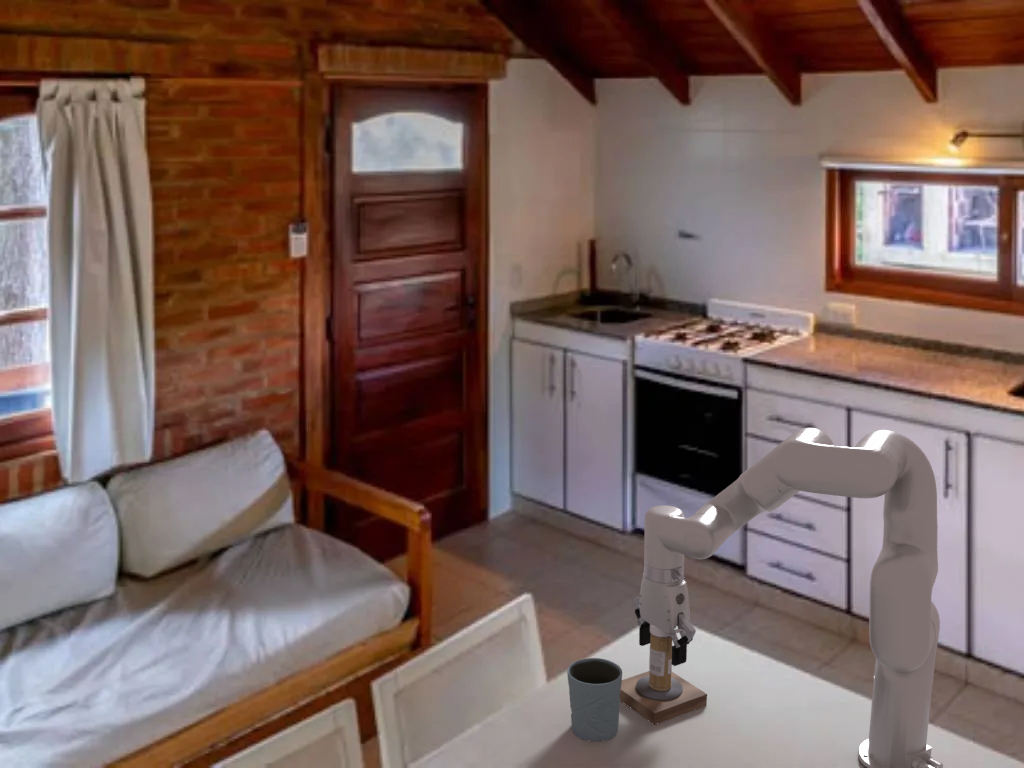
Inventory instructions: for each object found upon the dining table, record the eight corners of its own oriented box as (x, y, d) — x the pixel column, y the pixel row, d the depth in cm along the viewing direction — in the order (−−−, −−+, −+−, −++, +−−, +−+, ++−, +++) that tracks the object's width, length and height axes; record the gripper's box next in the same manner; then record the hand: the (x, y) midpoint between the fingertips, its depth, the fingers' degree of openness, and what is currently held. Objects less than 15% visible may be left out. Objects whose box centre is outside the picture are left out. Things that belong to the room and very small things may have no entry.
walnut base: (706, 705, 210) (707, 691, 210) (654, 725, 204) (654, 710, 203) (663, 677, 221) (663, 663, 220) (612, 694, 214) (612, 681, 214)
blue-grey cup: (617, 746, 197) (619, 686, 194) (562, 740, 199) (563, 681, 196) (623, 717, 206) (625, 660, 203) (570, 711, 208) (571, 654, 205)
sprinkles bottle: (676, 687, 211) (678, 624, 208) (658, 694, 209) (660, 630, 205) (660, 678, 215) (663, 615, 212) (643, 684, 212) (645, 621, 209)
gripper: (709, 581, 201) (707, 666, 205) (650, 552, 215) (649, 631, 219) (678, 591, 197) (676, 677, 201) (620, 560, 211) (619, 641, 215)
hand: (662, 653), depth 210 cm, fingers open, 9 cm apart
